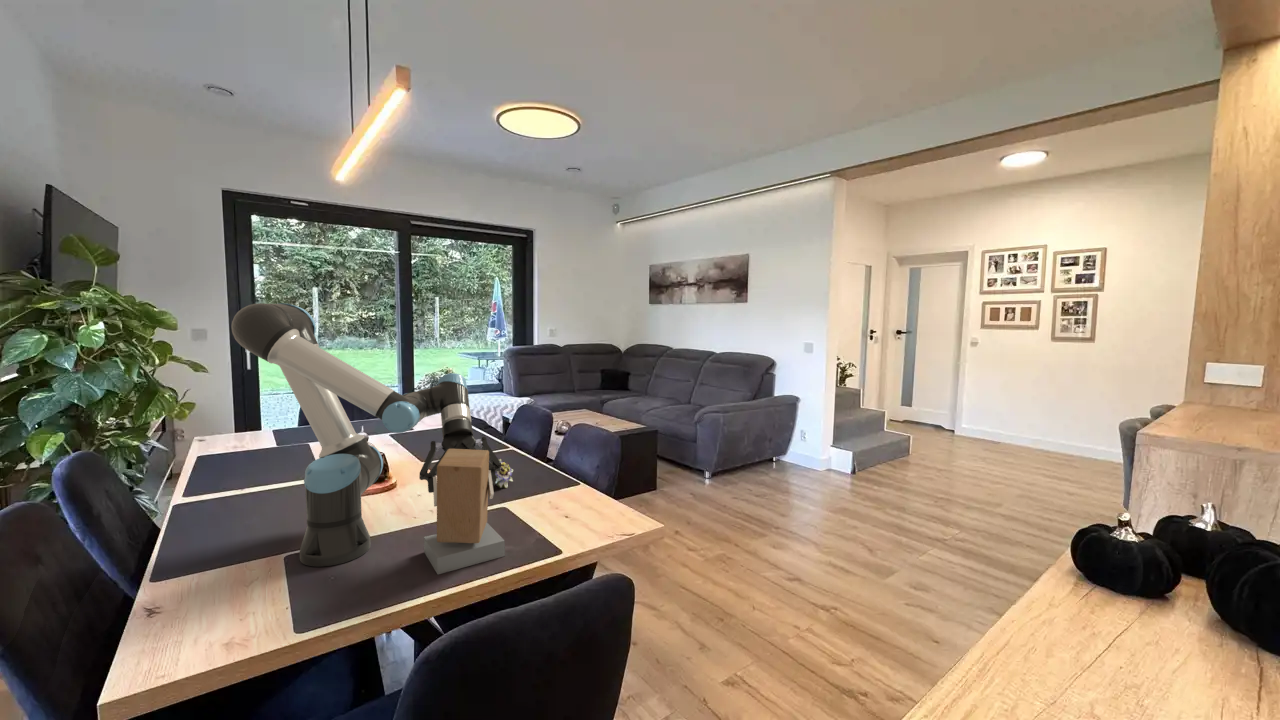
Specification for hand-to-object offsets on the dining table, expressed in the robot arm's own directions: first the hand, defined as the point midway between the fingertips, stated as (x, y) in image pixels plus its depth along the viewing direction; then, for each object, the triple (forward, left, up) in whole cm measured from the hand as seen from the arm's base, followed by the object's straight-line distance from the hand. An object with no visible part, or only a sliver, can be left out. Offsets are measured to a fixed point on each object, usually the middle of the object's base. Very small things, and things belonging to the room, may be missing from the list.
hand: (464, 500), depth 122 cm
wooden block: (0, +2, -9) cm, 9 cm away
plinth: (0, +2, -15) cm, 15 cm away
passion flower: (+25, +46, -15) cm, 54 cm away
